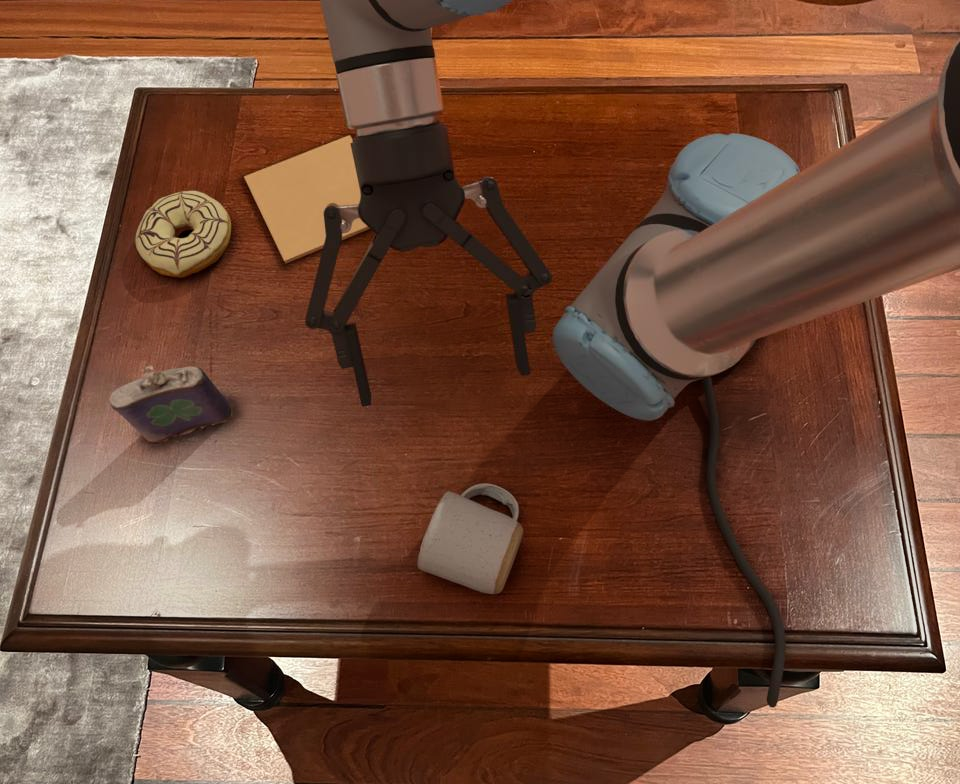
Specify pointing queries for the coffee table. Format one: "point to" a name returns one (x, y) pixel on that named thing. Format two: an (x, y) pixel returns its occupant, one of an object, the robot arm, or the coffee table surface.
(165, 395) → the flask
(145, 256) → the decorated donut
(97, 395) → the coffee table surface
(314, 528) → the coffee table surface
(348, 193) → the cork mat
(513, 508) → the ceramic mug
